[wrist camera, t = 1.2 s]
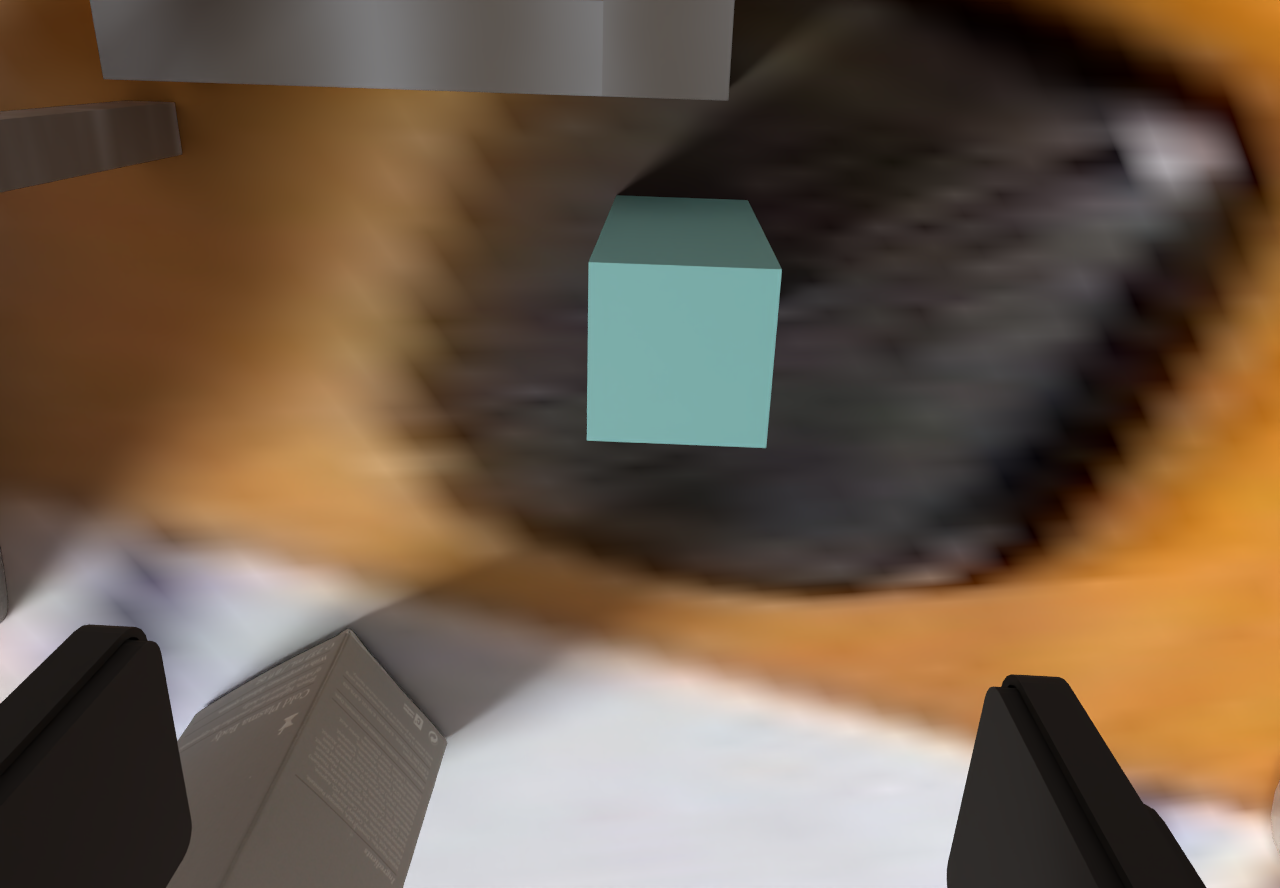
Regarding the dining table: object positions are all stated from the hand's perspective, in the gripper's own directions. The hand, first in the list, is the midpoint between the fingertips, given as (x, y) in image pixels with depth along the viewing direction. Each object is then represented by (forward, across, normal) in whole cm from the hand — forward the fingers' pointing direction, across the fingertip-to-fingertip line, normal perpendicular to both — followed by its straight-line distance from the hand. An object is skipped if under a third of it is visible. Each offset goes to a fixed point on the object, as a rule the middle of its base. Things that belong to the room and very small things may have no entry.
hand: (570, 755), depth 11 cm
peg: (+21, -1, -1) cm, 21 cm away
